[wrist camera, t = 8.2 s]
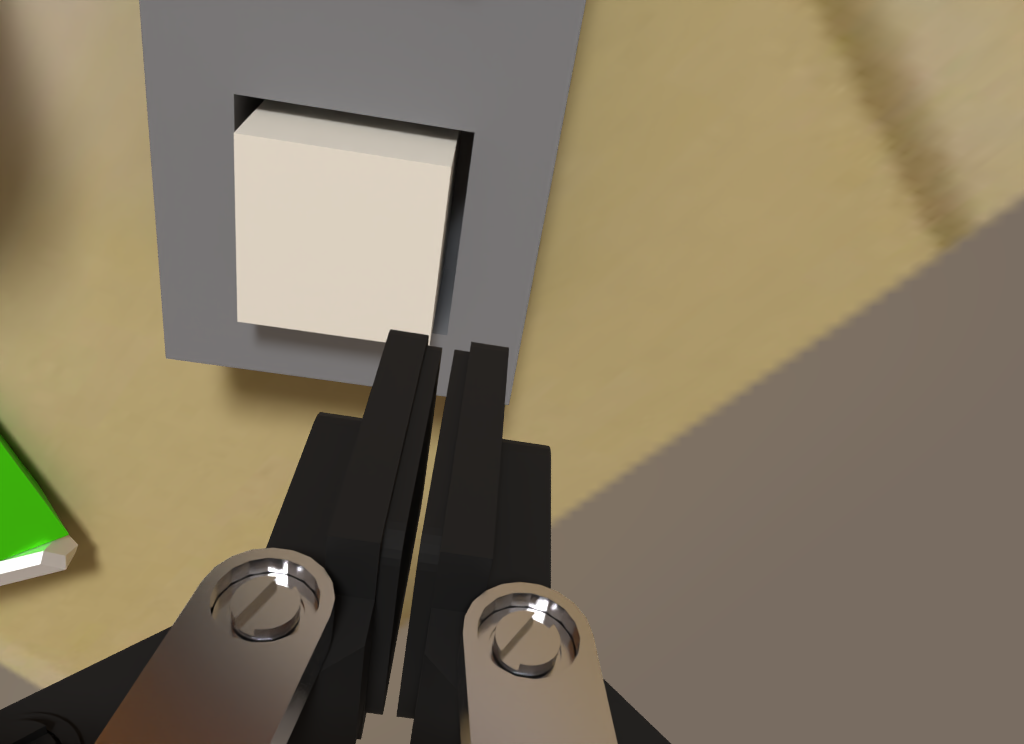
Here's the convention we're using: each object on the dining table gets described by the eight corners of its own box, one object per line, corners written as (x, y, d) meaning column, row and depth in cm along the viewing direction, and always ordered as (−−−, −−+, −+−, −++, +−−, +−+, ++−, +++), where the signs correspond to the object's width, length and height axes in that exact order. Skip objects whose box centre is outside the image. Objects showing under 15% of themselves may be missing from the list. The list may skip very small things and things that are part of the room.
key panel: (652, -461, 22) (689, -543, 17) (510, 322, 35) (508, 405, 30) (190, -561, 22) (88, -678, 16) (218, 280, 34) (166, 358, 29)
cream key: (463, 106, 29) (451, 167, 24) (443, 265, 32) (429, 348, 27) (285, 77, 28) (233, 133, 23) (283, 241, 32) (237, 321, 26)
